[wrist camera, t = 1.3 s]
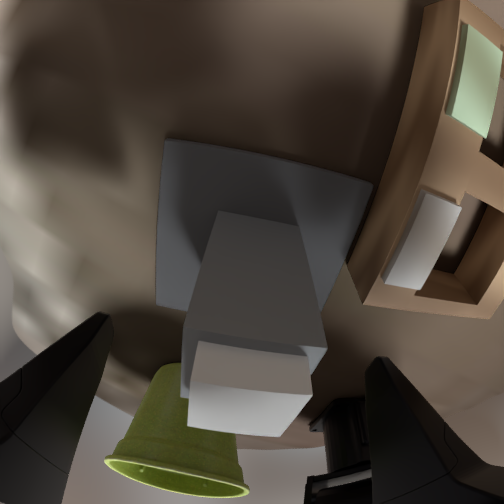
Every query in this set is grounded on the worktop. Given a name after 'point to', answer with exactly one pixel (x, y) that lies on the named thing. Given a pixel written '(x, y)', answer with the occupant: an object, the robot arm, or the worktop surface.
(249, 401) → the plug
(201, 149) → the pad
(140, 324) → the worktop surface
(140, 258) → the worktop surface
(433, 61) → the socket block
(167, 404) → the plant pot
